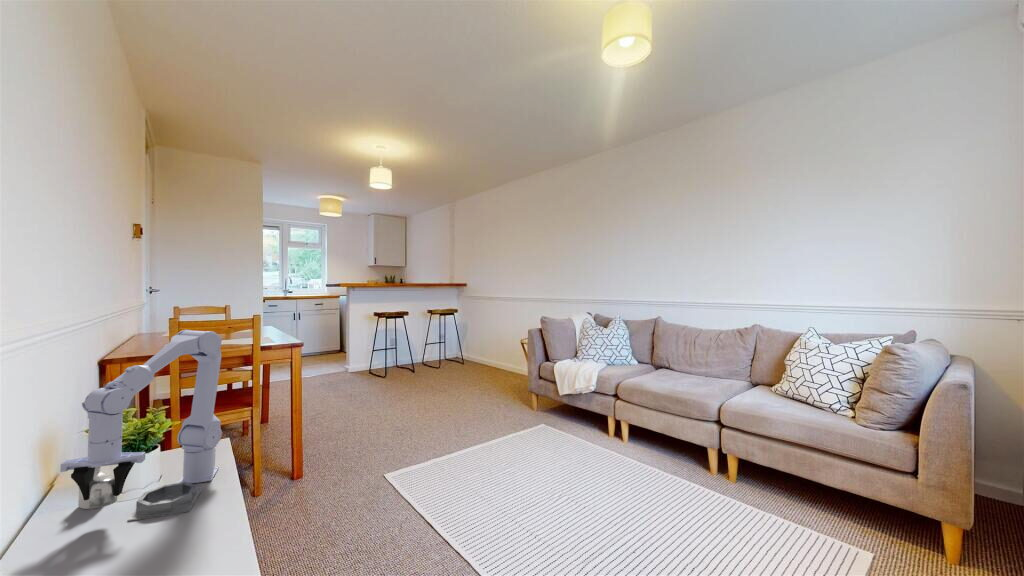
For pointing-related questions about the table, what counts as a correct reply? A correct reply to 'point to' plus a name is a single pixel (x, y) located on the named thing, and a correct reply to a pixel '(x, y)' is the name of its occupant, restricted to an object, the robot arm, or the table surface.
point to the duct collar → (166, 501)
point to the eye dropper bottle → (81, 501)
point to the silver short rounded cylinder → (102, 492)
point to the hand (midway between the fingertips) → (103, 496)
